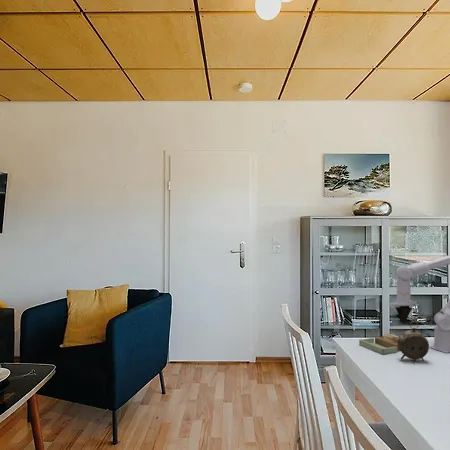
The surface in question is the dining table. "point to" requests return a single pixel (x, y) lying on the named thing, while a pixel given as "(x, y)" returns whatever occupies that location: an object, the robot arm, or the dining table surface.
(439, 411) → the dining table surface
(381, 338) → the walnut board
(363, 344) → the sage tray
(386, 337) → the maple tile
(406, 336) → the alarm clock
